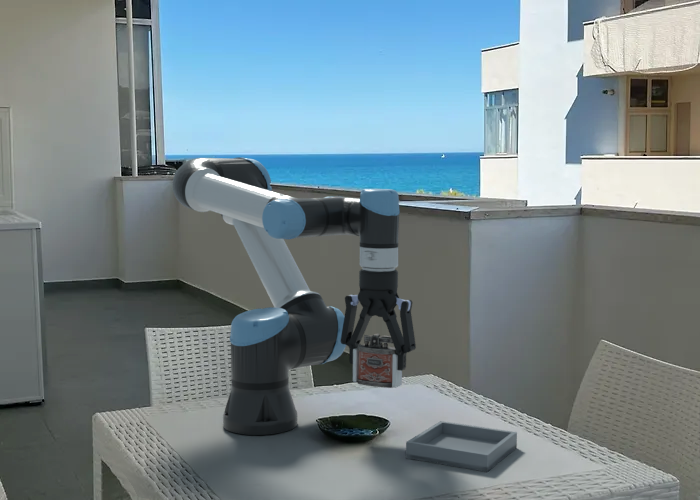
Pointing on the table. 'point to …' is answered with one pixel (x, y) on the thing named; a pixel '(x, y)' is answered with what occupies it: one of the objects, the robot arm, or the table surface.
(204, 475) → the table surface
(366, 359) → the lighter
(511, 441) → the tray
